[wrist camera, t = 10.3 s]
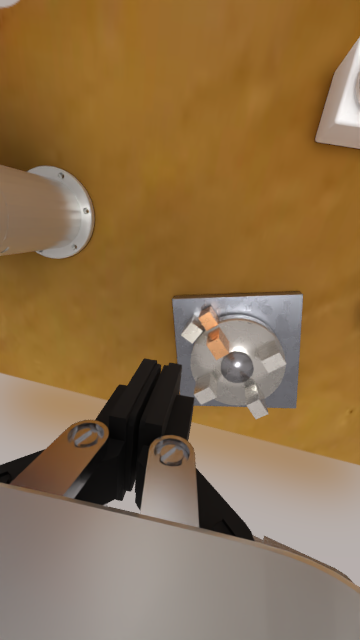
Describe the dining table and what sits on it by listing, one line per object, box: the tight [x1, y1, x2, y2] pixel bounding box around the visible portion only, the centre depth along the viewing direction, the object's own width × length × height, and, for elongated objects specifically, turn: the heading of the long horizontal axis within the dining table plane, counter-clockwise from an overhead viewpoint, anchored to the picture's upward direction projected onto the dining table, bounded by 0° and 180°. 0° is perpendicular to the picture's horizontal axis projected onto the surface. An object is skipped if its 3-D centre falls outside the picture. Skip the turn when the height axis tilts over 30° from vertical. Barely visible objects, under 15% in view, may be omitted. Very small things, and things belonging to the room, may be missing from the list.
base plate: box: [172, 291, 303, 408], centre depth 42 cm, size 18×18×6 cm
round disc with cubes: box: [191, 306, 286, 419], centre depth 39 cm, size 15×13×7 cm
